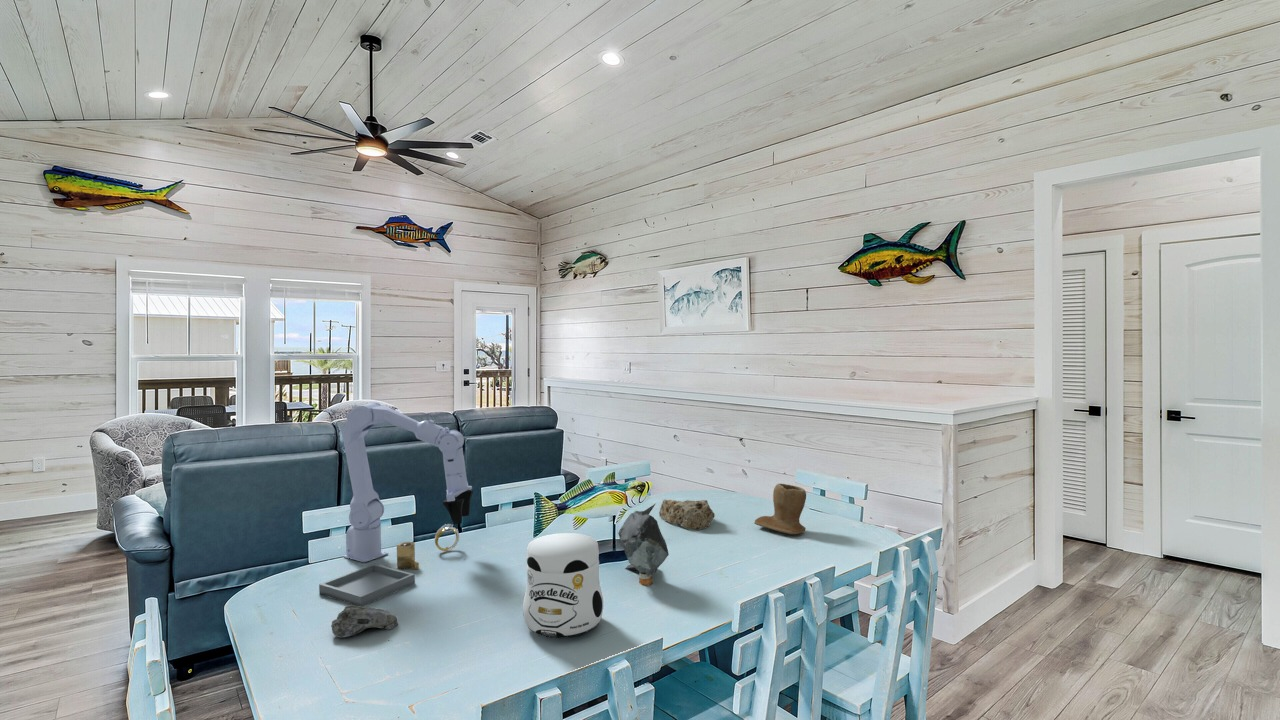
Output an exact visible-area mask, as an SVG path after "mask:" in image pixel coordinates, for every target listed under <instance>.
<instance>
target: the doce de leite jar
mask: <svg viewBox="0 0 1280 720" xmlns="http://www.w3.org/2000/svg"><path fill="white" fill-rule="evenodd" d="M598 543H599V542H598V541H597V540H596V539H595V538H594V537H592V536H590V535H588V534H587V535H586V534H583V533H575V532H574V533H573V532H560V533H552V534H551V533H550V534H547V535H546V534H545V535H543V536H539V537H536V538H534V539H533V540H531V541H530V542H529V543H528V545H527V548H526V556H525V557H526V558H525V559H526V560H525V561H526V588H525V593H524V597H523V600H522V612H523V613H522V614H523V619H524V623H525V625H526V627H527V628H528V629H529V630H530V631H532V632H533V633H535V634H536V635H538V636H542V637H544V638H545V637H546V638H549V639H550V638H552V639H563V638H566V639H567V638H574V637H577V636H581V635H585V634H587V633H588V632H590V631H592V630H593V629H594V628H596V626H597V625H599V623H600V621H601V619H602V617H603V611H604V596H603V592H602V589H601V585H600V560H599V558H600V557H599V555H600V553H599V552H600V551H599V544H598Z"/></svg>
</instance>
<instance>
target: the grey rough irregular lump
mask: <svg viewBox="0 0 1280 720" xmlns="http://www.w3.org/2000/svg"><path fill="white" fill-rule="evenodd" d="M398 621H399V620H398V617H397V615H396V614H394V613H392V612H390V611H389V610H387V609H383V608H375V607H365V606H362V607H361V606H356V605H353V604H350V605H346V606H345V607H344V609H343V610H341V611H340V612H339V613H338V614H337V617H336V619H333V620H332V621H331V624H330V625H331V626H330V627H331V630H332V635H333V636H334V637H336V638H348V637H352V636H355V635H358V634H359V633H362V632H363V631H364V630H366V629H370V628H372V629H374V628H377V629H386V630H387V631H390V630H391V629H393V628H395V627H396V626H397V625H398V624H399V623H398Z"/></svg>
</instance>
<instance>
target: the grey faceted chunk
mask: <svg viewBox="0 0 1280 720" xmlns="http://www.w3.org/2000/svg"><path fill="white" fill-rule="evenodd" d="M655 506H656V503H654V504H652V505H651V506H649V507H647V508H646V509H645V510H640V511H639V510H634V512H631V513H630V514H629V516H628V517H627V518H626V519H625V521H624V522H623V524H622V526H621V527H620V529H619V531H618V538H619V541H620V546H621V548H622V549H623V551H624V553H625V555H626V556H625V557H626V558H627V561H628V563H629V564H628V565H627V566H626V567H624V569H626V570H631V571H632V570H633V571H638V572H639V577H638V579H639V581H638V582H639V583H638V584H640V585H641V586H651V585H652V584H653V582H654V581H653V575H654V574H655V572H656V571H657V570H658V569H659V567H660V566H661V565H662V564H663V563H664V562H665V561H666V559H667V557H668V556H669V555H670V554H669V550H668V545H667V541H666V540H665V537H664V536H663V534H662V531H661V528H660V527H659V524H658V521H657V520H656V518H654V516H652V515H650V514H651V511H652V510H653V509H654V508H655Z"/></svg>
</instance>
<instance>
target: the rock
mask: <svg viewBox="0 0 1280 720" xmlns="http://www.w3.org/2000/svg"><path fill="white" fill-rule="evenodd" d="M658 514H659V517H660V519H662V520H664V521H665V522H668V523H671V524H674V525H680V526H681V527H683V528H685V529H686V530H694V531H701V530H702V529H706V528H708V527H709V526H710V525H711V522H712V521H713V520H714V519H715V516H716V515H715V512H714V511H713V510H712V508H711V507H710V505H709V503H708V500H706V499H702V500H688V499H687V500H684V501H682V500H675V499H663V500H662V503H661V505H660V507H659V512H658Z"/></svg>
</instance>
